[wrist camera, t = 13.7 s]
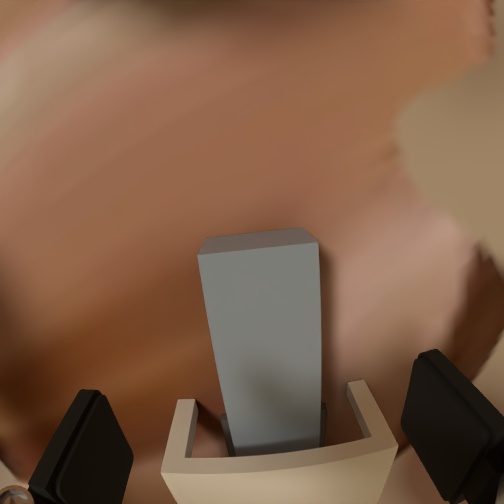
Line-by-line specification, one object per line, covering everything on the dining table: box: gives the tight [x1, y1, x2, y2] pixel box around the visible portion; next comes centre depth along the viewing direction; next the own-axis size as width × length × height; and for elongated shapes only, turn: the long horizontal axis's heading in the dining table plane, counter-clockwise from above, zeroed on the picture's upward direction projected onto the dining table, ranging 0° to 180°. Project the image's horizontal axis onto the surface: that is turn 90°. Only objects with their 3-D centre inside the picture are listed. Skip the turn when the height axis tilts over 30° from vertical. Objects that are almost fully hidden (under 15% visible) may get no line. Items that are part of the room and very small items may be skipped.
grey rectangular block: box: [197, 228, 321, 457], centre depth 22 cm, size 24×6×4 cm, turn 6°
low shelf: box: [160, 379, 398, 504], centre depth 22 cm, size 14×16×8 cm
